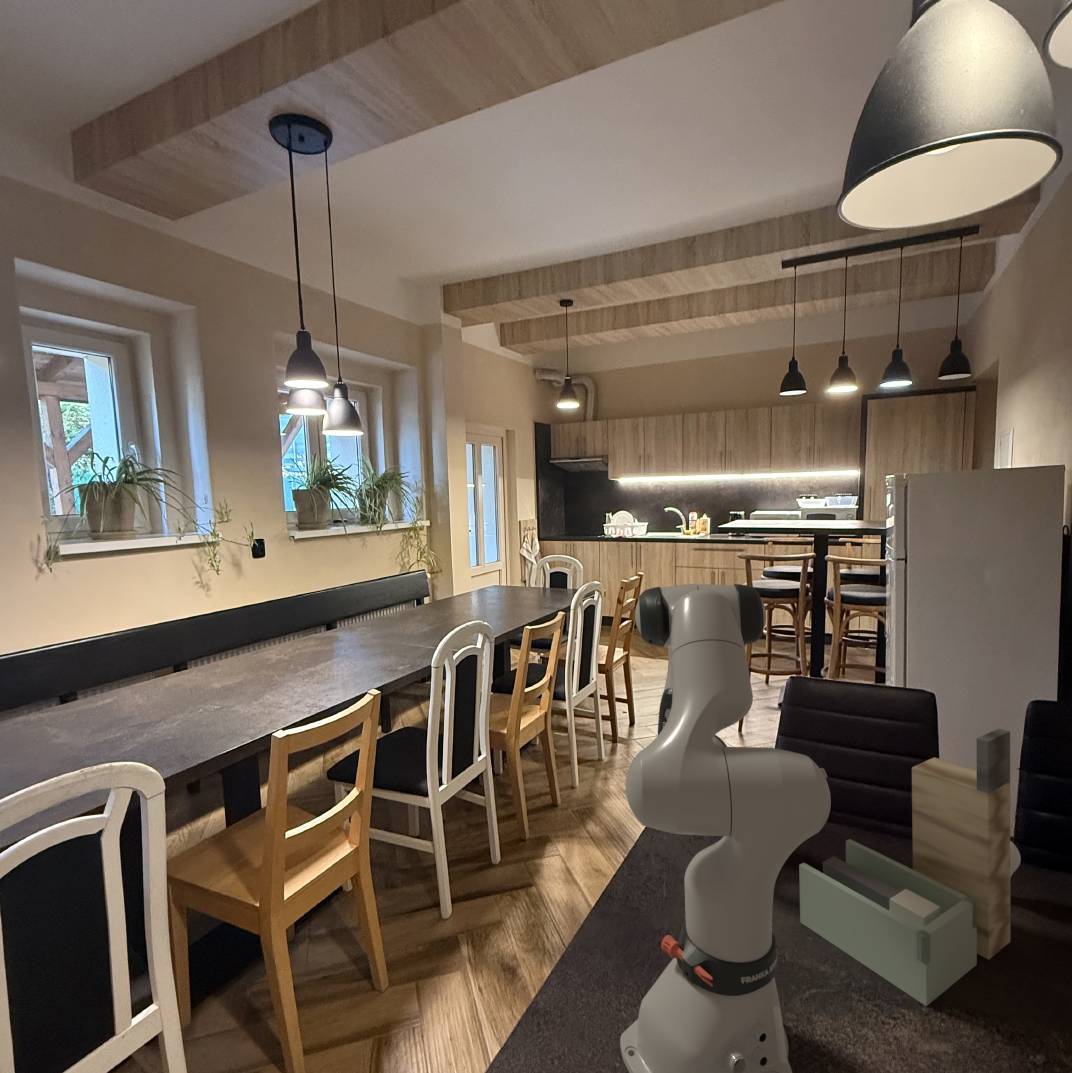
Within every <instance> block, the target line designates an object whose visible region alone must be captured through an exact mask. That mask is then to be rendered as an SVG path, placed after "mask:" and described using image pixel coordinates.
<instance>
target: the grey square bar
mask: <svg viewBox="0 0 1072 1073" xmlns="http://www.w3.org/2000/svg"><path fill="white" fill-rule="evenodd" d="M822 873H823V874H825V875H827V876H828V877H830V878H832V879H834V880H836V881H837V882H839V883H841V884H843V885H844V886H846V887H848V888H850V889H851V890H853V891H855V892H857V893H859V894H860V895H862V896H864V897H866V898H867V899H869V900H871V901H873V902H875V903H876V904H878V905H880V906H882V907H883V908H885V909H887V910H889V911H890V912H892V913H894V914H896V915H898V916H899V917H901V918H903V919H905V920H906V921H908V922H910V923H912V924H913V925H915V926H917V927H919V928H921V929H922V928H923V927H925V926H926V925H928V924H929V923H930V922H932V921H933V920H935V919H936V918H938V917H939V916H940V906H938V905H936V904H934V903H932V902H930V901H928V900H926V899H925V898H923V897H921V896H919V895H917V894H915V893H913V892H911V891H909V890H907V889H905V890H904V889H902V888H898V889H897V890H896V889H894V888H892V887H890V886H888V885H886V884H885V883H883V882H881V881H879V880H877V879H875V878H873V877H871V876H870V875H868V874H866V873H864V872H862V871H860V870H858V869H857V868H855V867H853V866H851V865H849V864H847V863H846V861H843V860H841V859H839V858H838V857H836V856H832V857H830V858H828V859H826V860H824V861H822Z"/></svg>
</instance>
